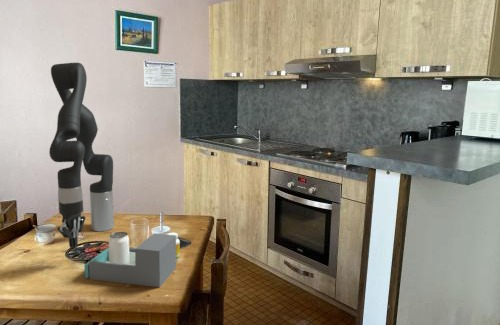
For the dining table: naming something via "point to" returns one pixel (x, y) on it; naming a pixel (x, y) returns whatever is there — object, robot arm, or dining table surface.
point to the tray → (106, 260)
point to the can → (119, 248)
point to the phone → (184, 242)
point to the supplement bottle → (176, 245)
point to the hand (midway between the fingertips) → (73, 247)
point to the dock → (141, 263)
